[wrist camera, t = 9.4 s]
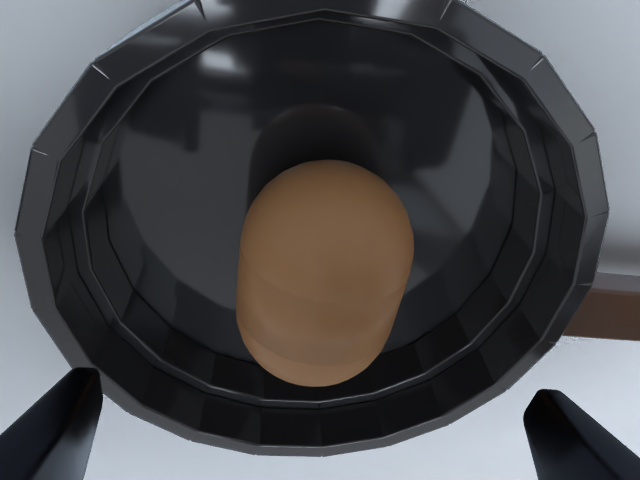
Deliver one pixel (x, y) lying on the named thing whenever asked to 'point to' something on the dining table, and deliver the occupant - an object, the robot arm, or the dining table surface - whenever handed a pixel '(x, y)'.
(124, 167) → the egg pan
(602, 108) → the dining table surface
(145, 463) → the dining table surface
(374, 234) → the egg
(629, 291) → the egg pan handle
